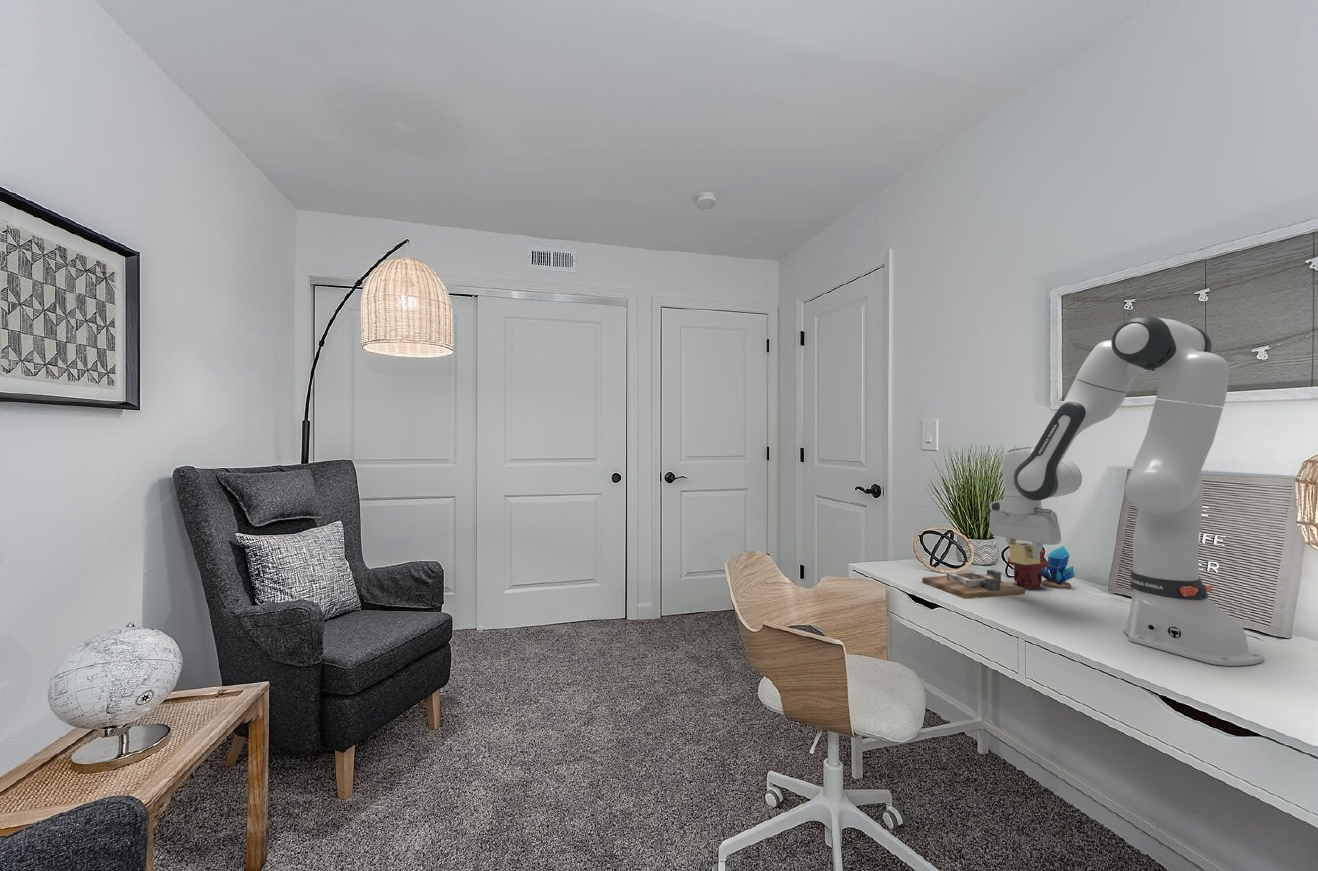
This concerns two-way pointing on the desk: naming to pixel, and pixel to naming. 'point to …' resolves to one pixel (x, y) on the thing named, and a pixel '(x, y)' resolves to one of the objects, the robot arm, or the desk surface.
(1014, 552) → the tan cube
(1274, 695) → the desk surface
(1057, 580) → the gemstone
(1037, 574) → the mechanical component
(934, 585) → the stand
